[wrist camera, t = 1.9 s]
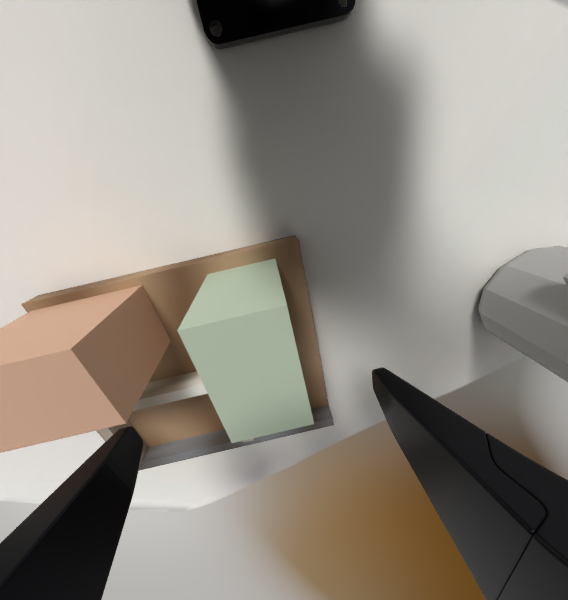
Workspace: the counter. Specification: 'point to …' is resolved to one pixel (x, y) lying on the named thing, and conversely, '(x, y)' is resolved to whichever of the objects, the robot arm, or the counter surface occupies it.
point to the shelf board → (178, 365)
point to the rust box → (77, 366)
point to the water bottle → (531, 306)
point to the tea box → (247, 351)
